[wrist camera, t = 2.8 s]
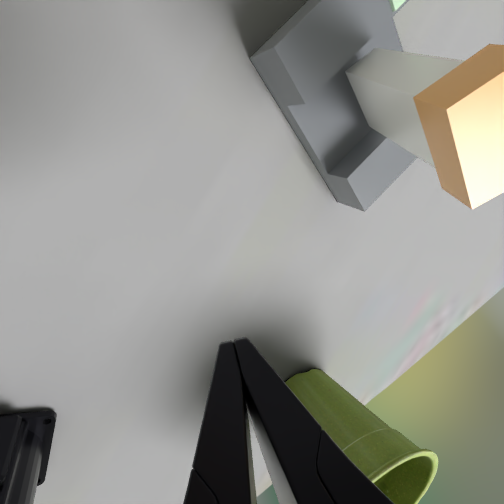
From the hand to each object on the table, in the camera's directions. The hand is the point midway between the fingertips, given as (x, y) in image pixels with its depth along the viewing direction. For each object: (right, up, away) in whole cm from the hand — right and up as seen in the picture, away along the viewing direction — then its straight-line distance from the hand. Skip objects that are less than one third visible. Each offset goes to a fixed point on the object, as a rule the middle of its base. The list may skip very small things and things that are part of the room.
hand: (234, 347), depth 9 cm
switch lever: (+8, +13, +9) cm, 18 cm away
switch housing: (+7, +14, +11) cm, 19 cm away
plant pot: (+5, -12, +22) cm, 26 cm away
